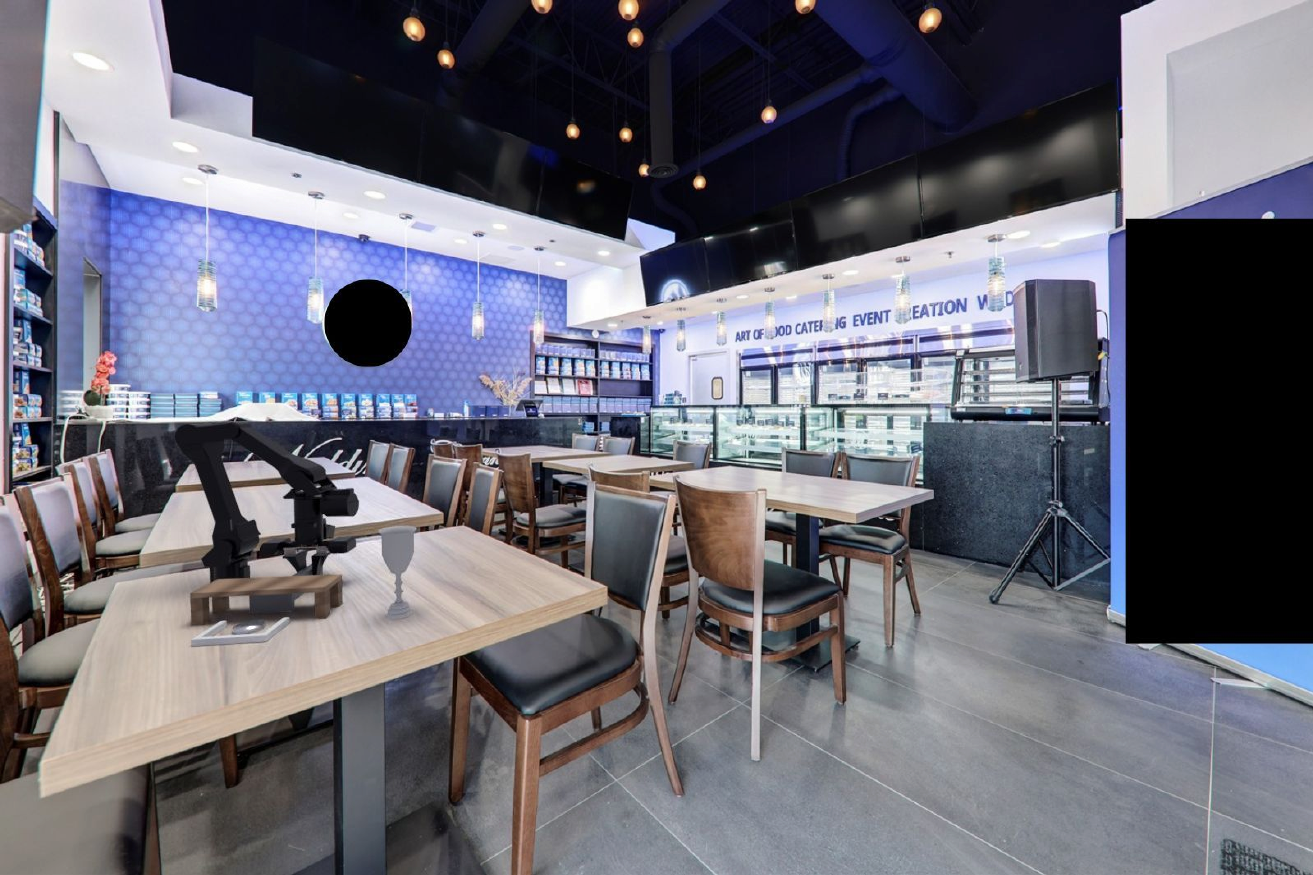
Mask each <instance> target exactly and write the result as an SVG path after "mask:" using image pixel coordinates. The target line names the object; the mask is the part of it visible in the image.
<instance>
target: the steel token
mask: <svg viewBox="0 0 1313 875" xmlns="http://www.w3.org/2000/svg"><path fill="white" fill-rule="evenodd" d="M266 627H267V625H266V620H265V619H260V618H256V619H250V620H246V621H242V622H239V623H237V624H235V625H234V626H232V635H243V634H256V633H258V632H260V631H263V629H265V628H266Z"/></svg>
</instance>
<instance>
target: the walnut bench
mask: <svg viewBox="0 0 1313 875" xmlns="http://www.w3.org/2000/svg"><path fill="white" fill-rule="evenodd" d="M293 593H304V594H308V593H314V595H313V596H314V618H315V619H317V620H320V619H327V618H328V617H329V616H330V615H331V608H339V607H341V605H342V604H343V603H344V601H343V594H344V593H343V574H342V573H341V574H340V573H339V574H337V573H336V574H335V573H334V574H323V575H311V576H292V575H291V576H290V575H289V576H288V575H287V576H267V577H266V576H265V577H263V576H262V577H250V578H237V579H217V580H215V581H213V582H211V583H210V582H209V583H207V584H205V585H204V586H202V587H200V588H197V589H195V590H194V591H192V592H190V593H189V600H190V601H189V602H190V618H191V619H190V620H191V621H190V624H191V626H192V627H193V626H204V625H205V624H207V623H209V622H210V621H211V614H220V613H221V614H223V613H225V612H226V611H228V610H230V609H231V608H230V597H245V596H246V597H247V596H248V597H249V596H250V595H271V594H293ZM210 598H211V607H210ZM210 609H211V610H210ZM211 612H212V613H211Z"/></svg>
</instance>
